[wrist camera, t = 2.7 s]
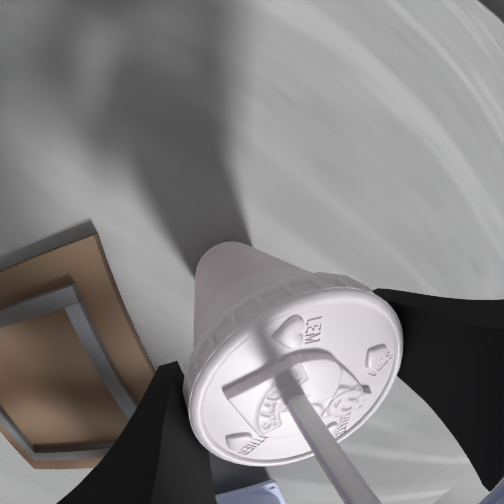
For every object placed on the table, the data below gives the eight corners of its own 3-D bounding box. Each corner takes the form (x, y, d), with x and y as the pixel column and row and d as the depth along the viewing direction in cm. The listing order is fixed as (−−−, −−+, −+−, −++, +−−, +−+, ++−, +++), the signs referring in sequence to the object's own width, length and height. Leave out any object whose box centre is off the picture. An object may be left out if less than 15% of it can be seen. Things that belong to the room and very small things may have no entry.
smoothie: (191, 198, 14) (412, 436, 1) (303, 236, 17) (546, 377, 4) (156, 314, 15) (192, 601, 2) (262, 336, 18) (401, 540, 5)
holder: (197, 443, 19) (199, 456, 18) (36, 462, 17) (33, 473, 15) (97, 232, 14) (90, 237, 13) (-69, 304, 12) (-78, 311, 10)
